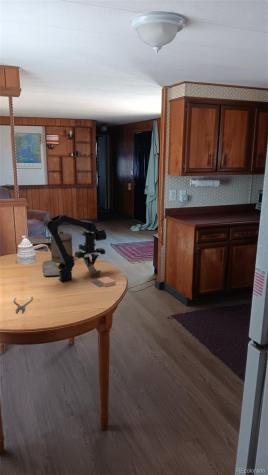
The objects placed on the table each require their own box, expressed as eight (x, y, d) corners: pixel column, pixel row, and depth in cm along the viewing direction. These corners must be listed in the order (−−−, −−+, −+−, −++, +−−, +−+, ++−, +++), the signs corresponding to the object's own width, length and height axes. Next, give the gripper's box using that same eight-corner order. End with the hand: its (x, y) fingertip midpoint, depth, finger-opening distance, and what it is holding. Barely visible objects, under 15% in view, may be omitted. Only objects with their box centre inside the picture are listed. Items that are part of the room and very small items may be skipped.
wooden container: (73, 256, 257) (72, 227, 252) (71, 262, 243) (70, 232, 237) (53, 257, 256) (52, 227, 251) (49, 263, 242) (48, 232, 237)
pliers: (32, 295, 186) (37, 309, 168) (32, 296, 186) (37, 311, 168) (12, 297, 182) (16, 313, 164) (13, 299, 182) (16, 315, 164)
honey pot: (14, 261, 246) (12, 236, 242) (31, 257, 254) (29, 233, 250) (22, 265, 237) (20, 239, 233) (39, 261, 245) (38, 236, 241)
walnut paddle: (80, 258, 221) (82, 253, 218) (88, 257, 224) (90, 252, 221) (90, 278, 212) (92, 273, 209) (98, 276, 216) (100, 271, 212)
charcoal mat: (99, 288, 197) (99, 287, 197) (90, 282, 206) (90, 281, 206) (115, 284, 203) (115, 283, 203) (106, 278, 212) (106, 278, 212)
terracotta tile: (97, 282, 205) (105, 287, 198) (97, 278, 204) (105, 283, 197) (107, 280, 209) (115, 284, 202) (107, 276, 208) (115, 280, 201)
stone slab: (56, 259, 243) (60, 271, 215) (57, 264, 244) (61, 276, 216) (41, 261, 240) (43, 273, 212) (42, 265, 241) (43, 278, 213)
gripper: (97, 237, 225) (97, 260, 228) (70, 241, 214) (71, 265, 218) (105, 241, 216) (105, 264, 219) (78, 245, 206) (79, 270, 209)
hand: (90, 266), depth 217 cm, fingers closed on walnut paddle, 2 cm apart
